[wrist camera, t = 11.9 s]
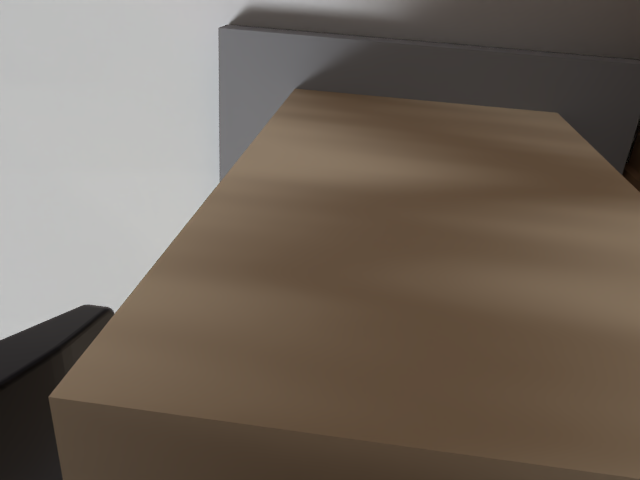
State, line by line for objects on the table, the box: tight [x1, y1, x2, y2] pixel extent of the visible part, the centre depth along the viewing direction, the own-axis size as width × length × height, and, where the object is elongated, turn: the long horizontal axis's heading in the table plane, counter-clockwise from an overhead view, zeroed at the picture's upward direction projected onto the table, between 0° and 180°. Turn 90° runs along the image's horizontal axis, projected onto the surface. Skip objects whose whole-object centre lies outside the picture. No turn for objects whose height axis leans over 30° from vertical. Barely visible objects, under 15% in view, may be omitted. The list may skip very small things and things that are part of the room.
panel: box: [219, 25, 640, 182], centre depth 13 cm, size 8×8×1 cm
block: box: [48, 89, 640, 480], centre depth 9 cm, size 5×6×9 cm
